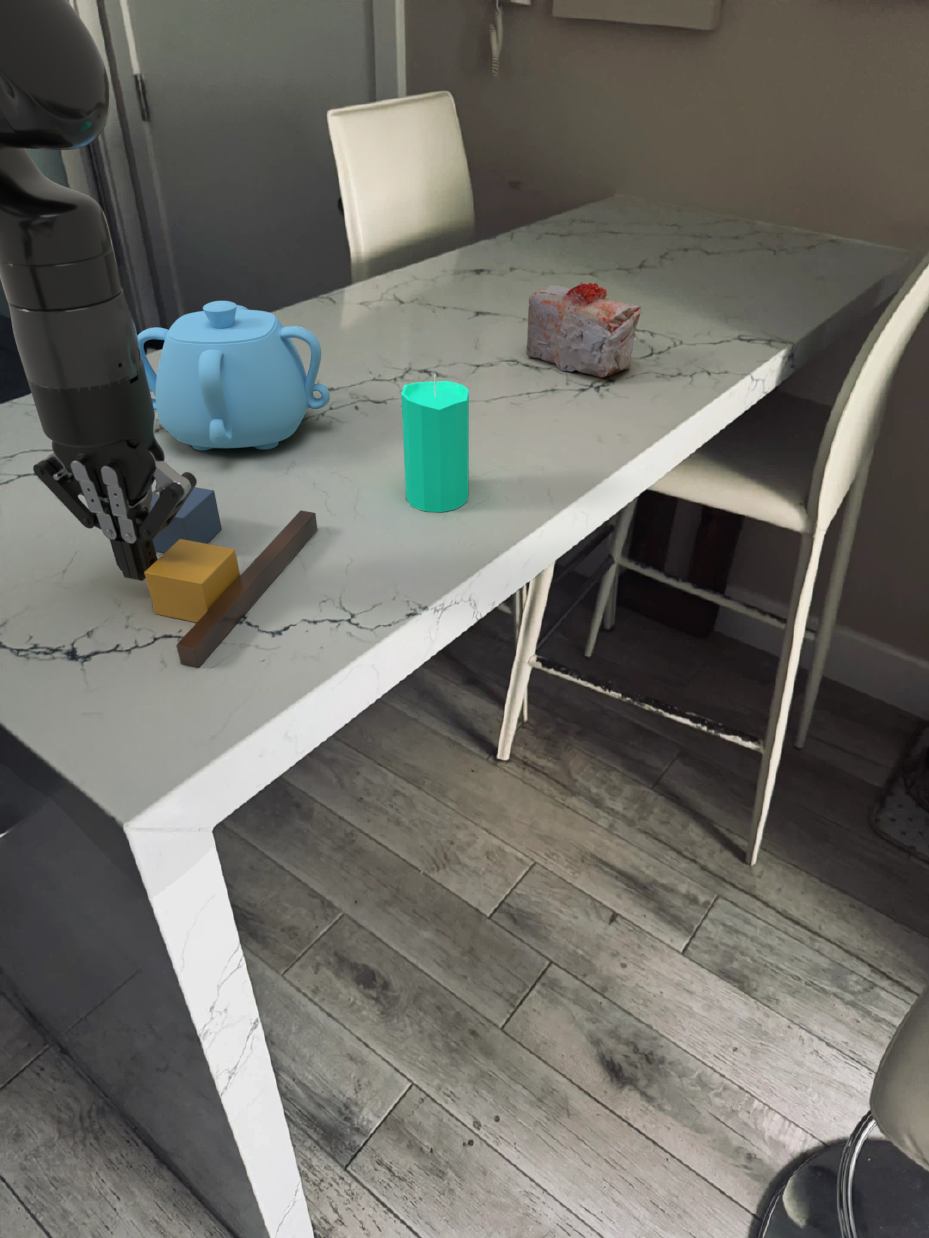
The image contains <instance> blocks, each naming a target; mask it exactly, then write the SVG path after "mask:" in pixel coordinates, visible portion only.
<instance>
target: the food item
mask: <svg viewBox="0 0 929 1238" xmlns="http://www.w3.org/2000/svg"><path fill="white" fill-rule="evenodd" d="M607 292H608V291H607V289H605V288H604V287H603V286H602V287H600V286H599V284H598V283H596V282H594V283H592V282H588V283H583V281H581V282H580V283H579V284H578V285H576V286H574V287H572V288H568V287H565V286H562V285H547V286H545V287H543V288H540V289H538V290H537V291H535V292H533V293H532V294H531V295H530V296H529V297H528V309H527V310H528V311H527V330H526V331H527V332H526V333H527V335H526V337H527V339H526V350H525V353H526V357H529V358H534V359H539V360H541V361H545V362H548V363H551V364H554V365H556V366H557V368H558V369H559V370H560V371H561V372H571V373H572V372H575V371H577V372H579V373H583V374H587V375H589V376H590V375H591V376H593V377H597V378H601V379H602V378H606V377H610V376H613V375H616V374H618V373H620V372H623V371H625V370H628V369H630V368H631V362H632V354H633V349H634V342H635V338H636V329H637V326H638V323H639V320H640V316H641V309H642V306H641V305H635V304H630V303H626V302H623V301H618V300H614V299H610V298H606V297H607V296H608V294H607Z"/></svg>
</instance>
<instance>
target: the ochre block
mask: <svg viewBox="0 0 929 1238" xmlns="http://www.w3.org/2000/svg"><path fill="white" fill-rule="evenodd" d="M157 559H158V560H157V561H156V562H155V563H154V564H153V565H151V566H150V567H149V568H148V569H147V570H146V571H145V572H144V574H145V577H146V578H145V581H146V584H147V588H148V592H149V596H150V600H151V603H152V607H153V610H154V614H155V615H158V616H159V615H160V616H163V617H168V618H174V619H179V620H182V621H187V622H192V623H197V622H198V621H199V620H200V619H201V618H202V617H203V615H204V614H205V613H206V612H207V611H208V610H209V609H210V608H211V607H212V606H213V605H214V604H215V602H216V601H217V600H218V599H219V598H220V597H221V596H222V595H223V594H224V593H225V592H226V591H227V589H228V588H229V587H230V586H231V585H232V584H233V583H234V582H235V581H236V580H237V579H238V578H239V576H240V575H241V574H240V568H239V563H238V558H237V551H236V549H235V548H232V547H226V546H220V545H215V544H209V543H207V544H205V543H199V542H194V541H188V540H183V539H179V540H178V541H177V542H176V543H175V544H174V545H173V546H172V547H171V548H170V549H169V550H168V551H166V552H165V553H163V554H162V555H161V556H160V557H159V558H157Z"/></svg>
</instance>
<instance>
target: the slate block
mask: <svg viewBox="0 0 929 1238" xmlns="http://www.w3.org/2000/svg"><path fill="white" fill-rule="evenodd" d="M152 491H153V500H152V502H151V510H152V508H153V506H154V505H155V503H156V502H157V500H158V498H156V497H155V495H154V493H155V492H156V489H154V490H152ZM222 529H223V527H222V524H221V517H220V513H219V507H218V502H217V498H216V493H215V490H214V489H210V488H209V489H208V488H203V487H196V486H195V487H194V489H193V490H192V492H191V493H190V495H189V496H188V498H187V499H186V501H185V502H184V504H183V506H182V507H181V509H180V510H179V512H178V513H177V515H176V516H175V518H174V519H173V521H172V522H171V524H169V525H168V526H167V527H165V528H164V529H163V530H162V531H160V532H159V533H158V534H157V536H156V537H155V538H153V543H154V547H155V551H156V552H158V553H163V554H164V553H165V552H166V551H168V550H169V549H170V548H171V547H172V546H173V545H174V544H175V543H176V542H177V541H178V540H179V539H183V540H188V541H194V542H199V543H205V544H209V542H210V541H211V540H212V539H214V537H216V536H217V534H218V533H220V532H221V531H222Z"/></svg>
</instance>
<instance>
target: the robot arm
mask: <svg viewBox="0 0 929 1238" xmlns="http://www.w3.org/2000/svg"><path fill="white" fill-rule="evenodd" d="M110 87H111V86H110V81H109V76H108V73H107V69H106V65H105V63H104V60H103V57H102V55H101V52H100V50H99V48H98V46H97V43H96V41H95V39H94V38H93V36H92V34H91V32H90V31H89V29H88V27H87V26H86V24H85V22H84V21H83V20H82V19H81V17H80V15H79V14H78V12H77V11H76V10H75V8H74V7H73V6H72V4H71V3H70V2H69V1H68V0H0V282H1V285H2V288H3V292H4V296H5V298H6V301H7V305H8V308H9V314H10V320H11V326H12V332H13V337H14V340H15V341H14V342H15V344H16V348H17V351H18V354H19V358H20V361H21V364H22V366H23V371H24V374H25V377H26V380H27V383H28V387H29V389H30V393H31V396H32V399H33V402H34V406H35V410H36V412H37V416H38V419H39V422H40V425H41V429H42V432H43V433H44V435H45V436H46V437H47V439H49V440H51V448H52V453H51V454H49V455H48V456H46V457H45V458H43V459H42V460H40V461H38V462H37V463H35V464H34V465H33V467H32V470H33V473H34V474H35V476H36V477H37V478H38V479H39V480H40V481H41V482H42V483H43V484H44V485H45V487H47V488H48V489H49V491H50V492H51V493H52V494H53V495H54V496H55V497H56V498H57V499H58V500H59V501H60V502H61V504H63V506H65V508H66V509H67V510H68V511H69V512H70V513H71V514H72V515H73V516H74V517H75V518H76V519H77V521H78V522H79V523H80V524H82V525H83V527H84V528H87V529H89V530H90V529H93V528H97V529H99V530H100V531H101V532H102V534H103V536H104V537H105V538H107V539H108V540H109V543H110V546H111V548H112V553H113V556H114V560H115V563H116V566H117V568H118V569H119V570H120V571H121V572H122V576H123V578H126V579H130V580H135V581H140V582H143V581H144V580H146V577H145V574H144V572H145V571H146V570H147V569H148V568H149V567H150V566H151V565H153V564H154V563H155V562H156V561H157V560H158V559H159V558H158V555H157V551H155V547H154V543H153V538H155V537H156V536H157V534H158V533H159V532H160V531H162V530H163V529H164V528H165V527H167V526H168V525H169V524H171V522H172V521H173V519H174V518H175V516H176V515H177V513H178V512H179V510H180V509H181V507H182V506H183V504H184V502H185V501H186V499H187V498H188V496H189V495H190V493H191V492H192V490H193V489H194V487H196V485H197V483H198V482H197V481H198V480H197V478H196V477H195V475H194V474H192V473H191V472H189V471H184V472H183V473H182V474H180V473H179V472H177V471H176V470H175V469H174V468H173V467H171V466H170V465H169V464H168V463H166V462H165V459H166V457H165V452H164V450H163V448H162V446H161V445H160V444H159V442H158V441H157V439H156V437H155V433H154V429H155V428H154V427H155V419H156V414H155V413H156V412H155V410H154V407H153V403H152V398H153V397H152V394H151V392H150V390H149V385H148V381H147V376H146V372H145V367H144V363H143V358H142V354H141V349H140V345H139V340H138V332H137V328H136V324H135V321H134V318H133V315H132V312H131V309H130V307H129V304H128V301H127V299H126V296H125V292H124V288H123V285H122V280H121V276H120V272H119V266H118V263H117V258H116V254H115V249H114V245H113V240H112V235H111V231H110V227H109V223H108V220H107V217H106V214H105V211H104V210H103V207H102V206H101V205H100V203H99V202H98V201H97V200H96V199H95V198H94V197H92V196H90V195H88V194H87V193H83V192H81V191H80V190H75V189H74V188H70V187H67V186H66V185H65V186H64V185H61V184H60V183H57V182H55V181H54V180H51V179H50V178H48V177H47V176H46V175H45V174H44V173H43V172H42V171H41V169H40V168H39V167H38V165H37V163H36V161H35V160H34V159H33V157H32V155H31V153H30V152H29V149H30V150H45V151H47V150H49V151H71V150H76V149H81V148H84V147H86V146H88V145H90V144H92V143H93V142H95V141H96V140H97V139H98V137H99V136H100V135H101V134H102V132H103V131H104V130H105V127H106V125H107V122H108V119H109V116H110V111H111V88H110ZM154 482H155V486H154V487H155V489H154V490H156V492H155V493H154V495H155V497H156V498H158V500H157V502H156V503H155V505H154V506H153V508H152V510H151V502H152V500H153V491H154V490H153V487H152V486H153V484H154ZM79 496H83V498H84V500H85V502H86V504H85V503H84V502H83V501H82V500H81V499H80V498H79Z"/></svg>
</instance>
